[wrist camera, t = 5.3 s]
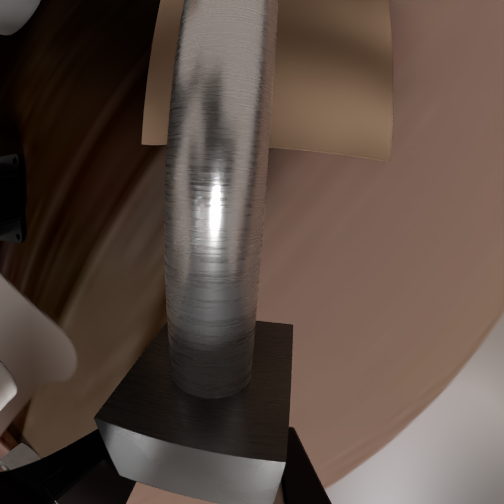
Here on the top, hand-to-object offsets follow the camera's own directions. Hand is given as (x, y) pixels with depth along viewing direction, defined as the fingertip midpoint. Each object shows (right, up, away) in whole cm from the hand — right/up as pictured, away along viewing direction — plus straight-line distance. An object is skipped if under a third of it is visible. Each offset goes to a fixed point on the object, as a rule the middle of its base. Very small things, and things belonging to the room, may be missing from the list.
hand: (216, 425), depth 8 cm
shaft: (+1, +11, -1) cm, 11 cm away
